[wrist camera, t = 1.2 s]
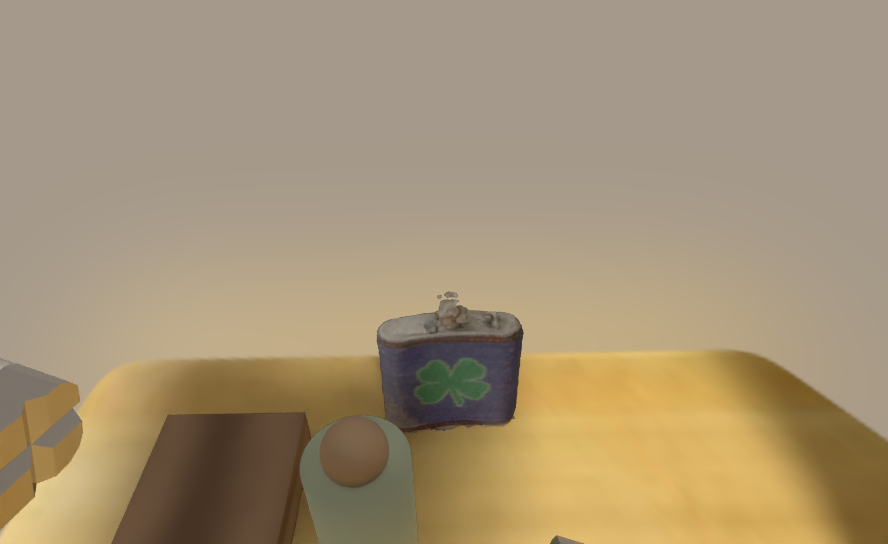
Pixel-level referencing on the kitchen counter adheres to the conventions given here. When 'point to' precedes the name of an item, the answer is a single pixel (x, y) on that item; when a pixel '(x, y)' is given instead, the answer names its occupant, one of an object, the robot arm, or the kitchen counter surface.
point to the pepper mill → (360, 483)
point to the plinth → (220, 481)
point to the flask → (450, 368)
